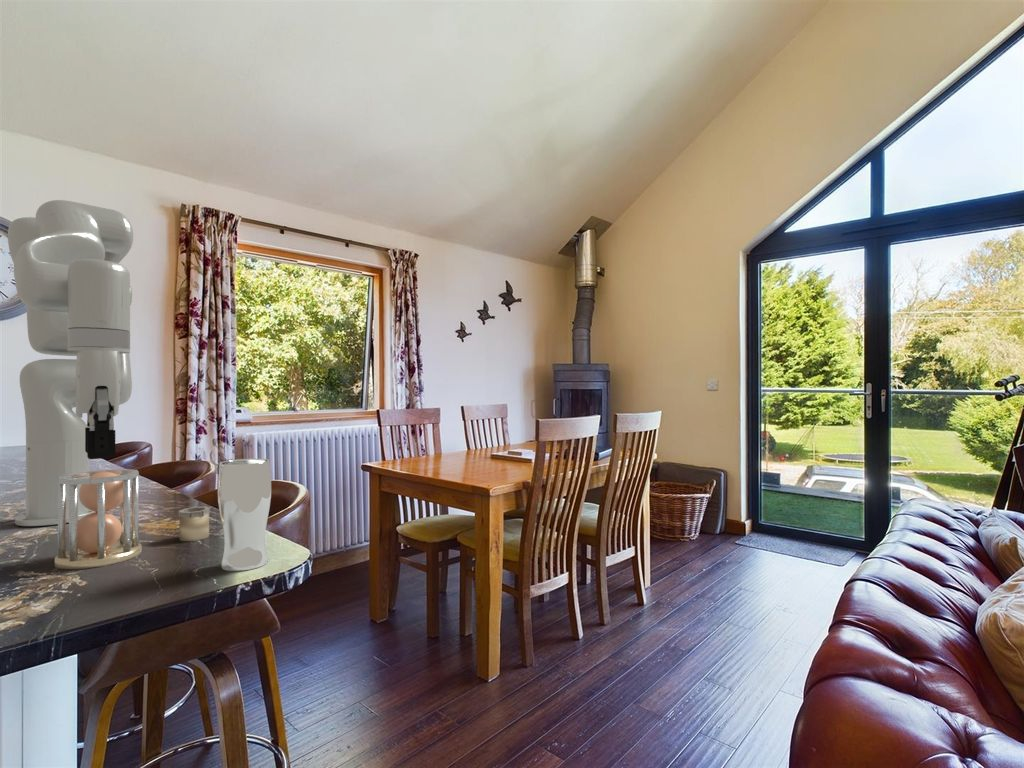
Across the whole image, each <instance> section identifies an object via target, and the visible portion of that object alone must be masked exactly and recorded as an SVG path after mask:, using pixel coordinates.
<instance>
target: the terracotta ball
mask: <svg viewBox="0 0 1024 768" xmlns="http://www.w3.org/2000/svg"><path fill="white" fill-rule="evenodd" d="M118 475H119V474H115V473H111V472H102V473H97V474H94V475H92V476H89V478H102V477H112V476H118ZM87 479H88V478H87ZM79 499H80V502H81V503H82V505H83V506H84V507H86V508H87V509H89V510H92V511H96V512H97V483H96V484H82V485H81V487H80V489H79ZM122 502H123V480H121V481H115V482H106V483H105V512H109V511H112V510H114V509H116V508H117V507H120V504H121V503H122Z"/></svg>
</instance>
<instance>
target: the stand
mask: <svg viewBox="0 0 1024 768" xmlns="http://www.w3.org/2000/svg"><path fill="white" fill-rule="evenodd" d="M210 513H211V509H210V507H209V506H193V507H186V508H183V509H179V510H178V519H179V524H178V525H179V529H178V530H179V531H178V532H179V535H178V537H179V539H178V540H179V541H181V542H194V541H199V540H204V539H208V538H209V537H210Z"/></svg>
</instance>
